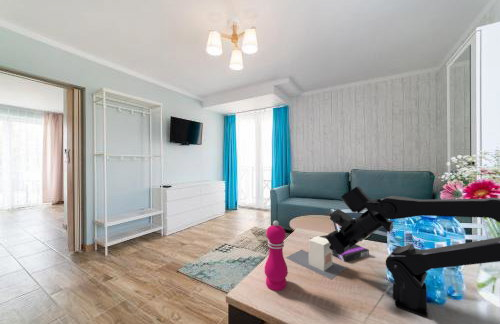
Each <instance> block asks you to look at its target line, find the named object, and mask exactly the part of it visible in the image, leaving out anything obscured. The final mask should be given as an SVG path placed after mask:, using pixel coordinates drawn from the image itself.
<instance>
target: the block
mask: <svg viewBox="0 0 500 324" xmlns="http://www.w3.org/2000/svg"><path fill="white" fill-rule="evenodd" d="M330 245H331V244H330V243H329V241H328V240H327V239H325V238H322V237H320V236H318V235H317V236H314V237H312V239H310V238H309V239H308V252H309V265H311V266H314V267H316V268H318V269H320V270H322V271H325V270H326V269H328V268H329V267H330V266H332V262H333V255H332V250H331V249H330V248H329V246H330Z"/></svg>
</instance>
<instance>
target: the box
mask: <svg viewBox="0 0 500 324" xmlns="http://www.w3.org/2000/svg"><path fill="white" fill-rule="evenodd" d="M327 235H328V234H326V235H320V236H319V237H322V238H325V239H326V236H327ZM312 238H313V237H312ZM312 238H311V237H310V238H309V240H310V239H312ZM333 256H334V257H335V258H336V259H339V260H341V261H343V262H344V263H348V262H350V261H353V260H357V259H359V258H363V257H369V256H370V250H369V249H368V248H365V247H364V246H360V245H359V244H357V243H356V244H355V245H354V246H352V247H350V248H349V250H347V251H346V252H344V253H343V254H341V255H339V254H337V252H336V251H335V250H332V257H333Z"/></svg>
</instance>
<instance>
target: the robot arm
mask: <svg viewBox="0 0 500 324" xmlns="http://www.w3.org/2000/svg"><path fill="white" fill-rule="evenodd" d="M340 199H341V201H342V202H343V203H344V204H345V206H347V207H348V208H349V210H350V211H351V213H354V214H355V213H357V214H360V213H361V214H360V215H359V216H358V217H357V216H356V217H355V218H353V217H351V216H350V215H349V214H347V213H346V212H345V211H343V210H342V209H335V210H333V211H332V213H330V214H329V220H330V221H331V222H333V223H334V224H336V225H339V226H340V227H339V230H338V231H337V230H334V231H332V232H330V233H327V234H326V235H327V236H326V239H327V240H328V241H329V243H330V244H331V245H330V246H329V248H330V249H331V250H335V251H336V252H337V254H339V255H341V254H343V253H344V252H346V251H347V250H349V248H350V247H352V246H354V245H355V244H356V245H357V244H358V243H359V242H362V241H364V240H365V239H366V238H367V237H369V236H371V235H372V234H373V233H375V232H376V231H378V230H380V229H381V228H384V229H385V230H386V232H387V233H388V232H391V231H392V230H393V229H394V220H399V219H407V218H413V217H420V216H423V217H425V216H426V217H427V216H428V217H431V216H432V217H453V218H454V217H459V218H460V217H462V218H483V219H485V218H486V219H488V218H489V219H492V220H494V221H496V222H497V223H499V224H500V198H498V197H487V198H456V199H455V198H454V199H453V198H450V199H449V198H446V199H445V198H444V199H443V198H441V199H440V198H439V199H435V198H434V199H420V198H419V199H418V198H412V197H407V196H399V195H391V196H386V197H384V198H372V199H371V198H370V197H369V196H368V195H367V194H366V193H365V191H363V189H362V188H361V187H360V186H355V187H353V188H352V189H350V190H349V191H347V192H345V193H344V194H342V195H341V196H340ZM365 210H366V211H365ZM362 212H363V213H362ZM498 262H500V236H499V237H493V238H487V239H482V240H481V239H480V240H475V241H468V242H463V243H458V244H451V245H447V246H446V245H445V246H439V247H434V248H428V249H420V248H415V245H414V243H409V244H407V245H404V246H403V245H402V246H401V245H397V246H396V247H395V248H394V249H393V250H392V252H391V253H390V254H389V255H388V256H387V257H386V259H385V266H386V269H387V270H388V271H389V273H391V276H392V278H393V281H392V299H393V300H394V306H395V307H397V308H400V309H401V310H405V311H407V312H411V313H414V314H416V315H419V316H422V317H425V318H429V313H428V307H427V306H428V301H427V300H428V299H427V296H428V294H427V293H428V290H427V285H426V282H425V281H426V279H427V277H428V271H430V270H433V269H434V270H435V269H442V268H451V267H452V268H454V267H460V266H471V265H480V264H489V263H498Z"/></svg>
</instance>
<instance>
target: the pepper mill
mask: <svg viewBox="0 0 500 324" xmlns="http://www.w3.org/2000/svg"><path fill="white" fill-rule="evenodd" d="M279 224H280V223H279V221H278V220H274V221H273V222H272V225H270V226H268V227H267V228H266V232H265V233H266V235H265V236H266V238H267V239H268V240H267V246H268V248H269V249H268V253H269V254H268V257H267V259H266V262H265V264H264V274H265V276H266V277H265V285H266V287H267V288H268V289H270V290H272V291H275V292H276V291H278V292H279V291H283V290H285V289H286V286H287V277H288V273H289V271H288V270H289V269H288V266H287V263H286V260H285V256H284V252H283V249H284V247H285V241H284V240H285V239H286V237H287V236H286V229H284V227H283V226H281V225H279Z"/></svg>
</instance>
